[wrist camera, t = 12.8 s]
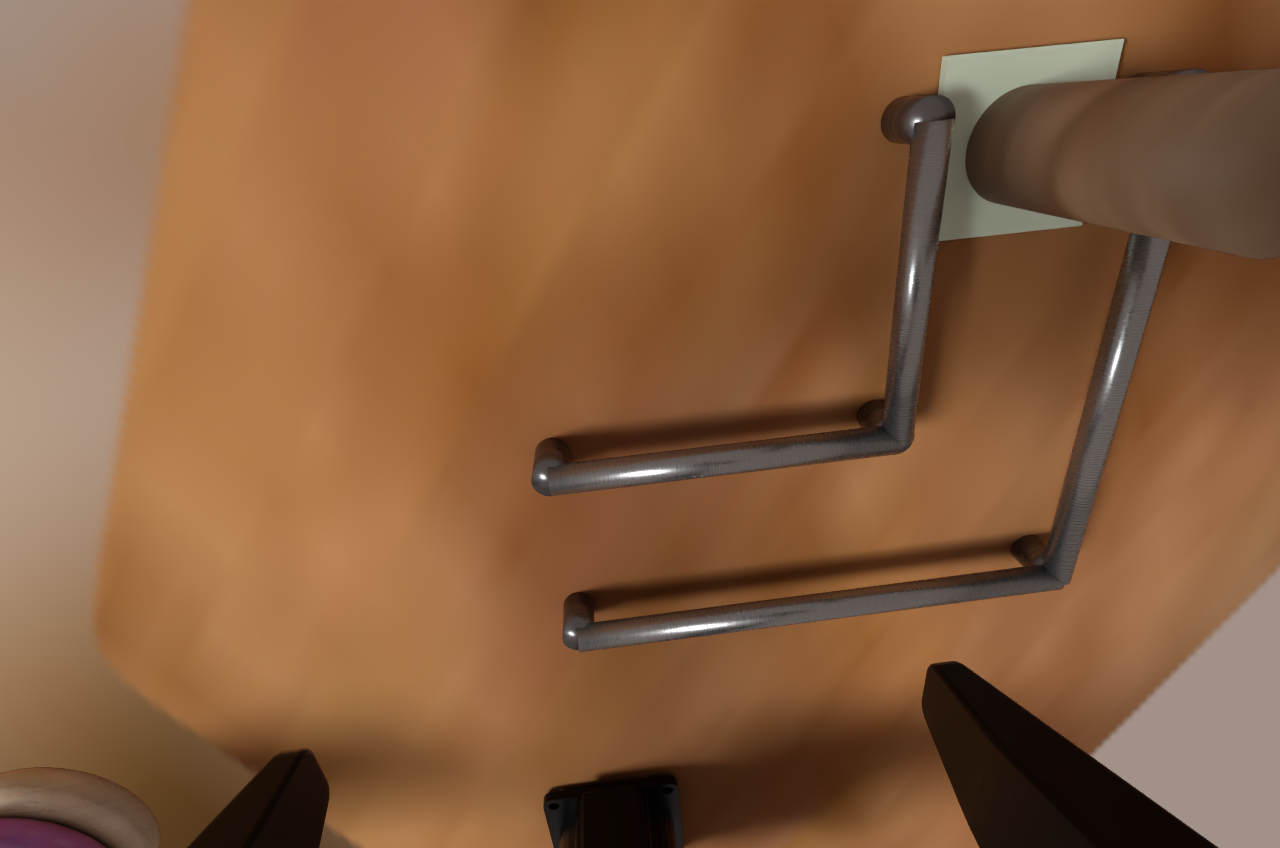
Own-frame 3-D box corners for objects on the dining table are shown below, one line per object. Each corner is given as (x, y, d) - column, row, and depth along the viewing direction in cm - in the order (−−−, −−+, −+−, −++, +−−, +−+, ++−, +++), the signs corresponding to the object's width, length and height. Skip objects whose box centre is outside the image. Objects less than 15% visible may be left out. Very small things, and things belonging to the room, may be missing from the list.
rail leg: (1036, 556, 26) (1075, 595, 24) (566, 617, 25) (564, 662, 23) (1083, 375, 22) (1134, 402, 20) (532, 440, 21) (527, 474, 19)
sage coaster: (1074, 224, 20) (1081, 225, 19) (920, 240, 19) (925, 242, 19) (1115, 39, 17) (1124, 38, 17) (942, 56, 17) (948, 55, 17)
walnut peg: (1060, 198, 19) (1350, 249, 12) (957, 209, 19) (1188, 267, 12) (1084, 79, 17) (1432, 54, 10) (974, 90, 17) (1248, 73, 10)
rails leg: (1039, 545, 26) (1079, 583, 23) (844, 570, 25) (868, 610, 23) (1161, 70, 18) (1237, 65, 16) (882, 98, 17) (923, 96, 15)
